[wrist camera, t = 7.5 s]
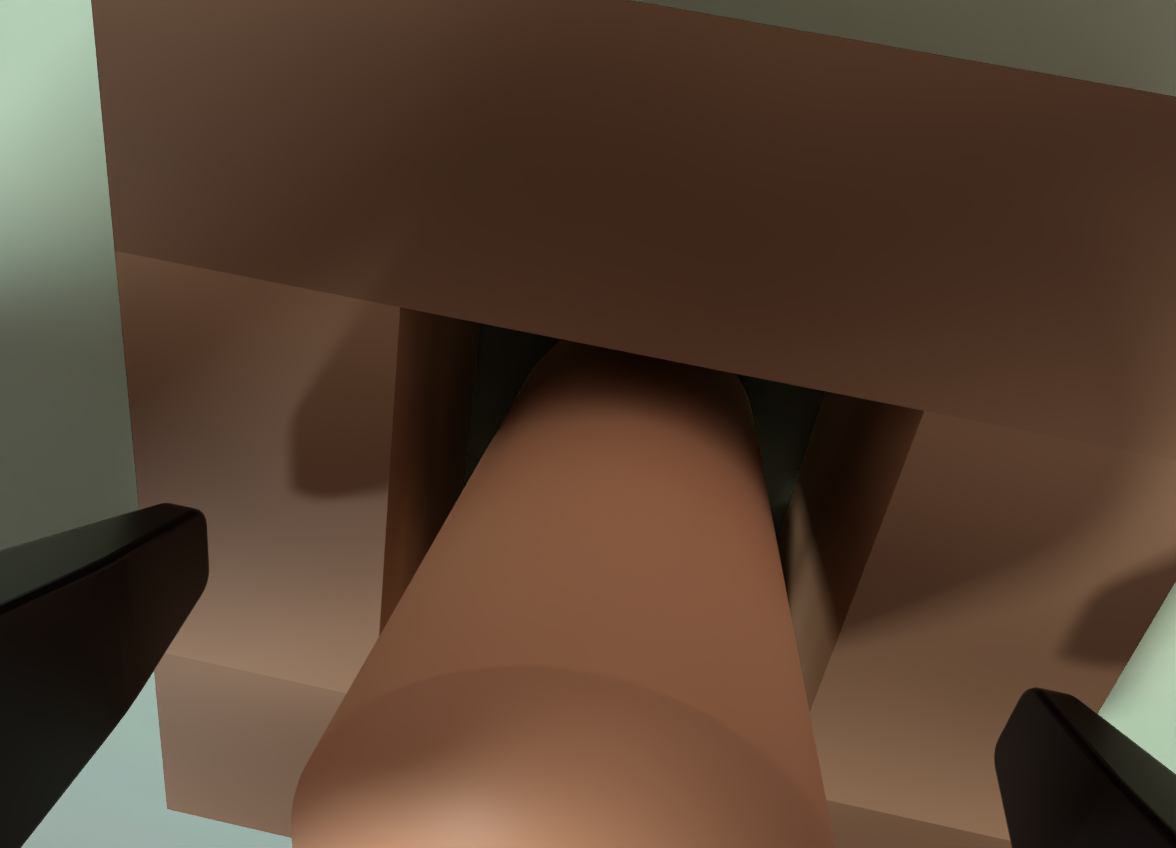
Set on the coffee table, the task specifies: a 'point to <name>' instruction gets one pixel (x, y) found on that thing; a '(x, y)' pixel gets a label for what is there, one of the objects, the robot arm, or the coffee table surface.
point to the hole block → (645, 346)
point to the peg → (587, 640)
